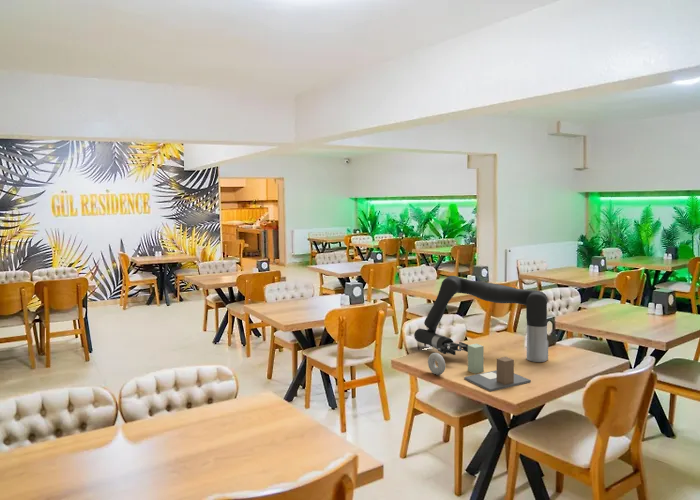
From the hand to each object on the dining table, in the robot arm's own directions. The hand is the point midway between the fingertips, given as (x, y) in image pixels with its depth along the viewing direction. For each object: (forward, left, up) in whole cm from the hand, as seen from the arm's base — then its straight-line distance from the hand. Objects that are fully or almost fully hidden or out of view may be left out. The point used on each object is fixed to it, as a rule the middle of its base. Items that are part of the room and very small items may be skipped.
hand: (462, 351), depth 253 cm
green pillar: (0, +10, -7) cm, 12 cm away
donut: (+18, +5, -7) cm, 20 cm away
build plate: (0, +24, -7) cm, 25 cm away
